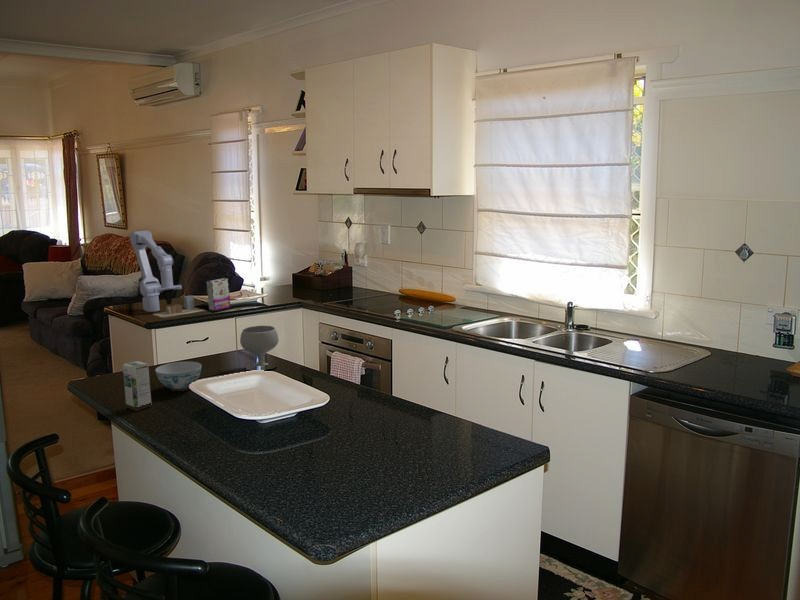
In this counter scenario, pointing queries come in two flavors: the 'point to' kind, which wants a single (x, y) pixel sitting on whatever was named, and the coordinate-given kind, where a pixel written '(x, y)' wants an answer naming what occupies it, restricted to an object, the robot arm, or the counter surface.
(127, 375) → the syrup box
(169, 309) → the walnut block
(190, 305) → the slate blue block
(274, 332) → the chalice
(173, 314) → the birch board
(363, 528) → the counter surface
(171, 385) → the chinaware
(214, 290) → the candy bar box
